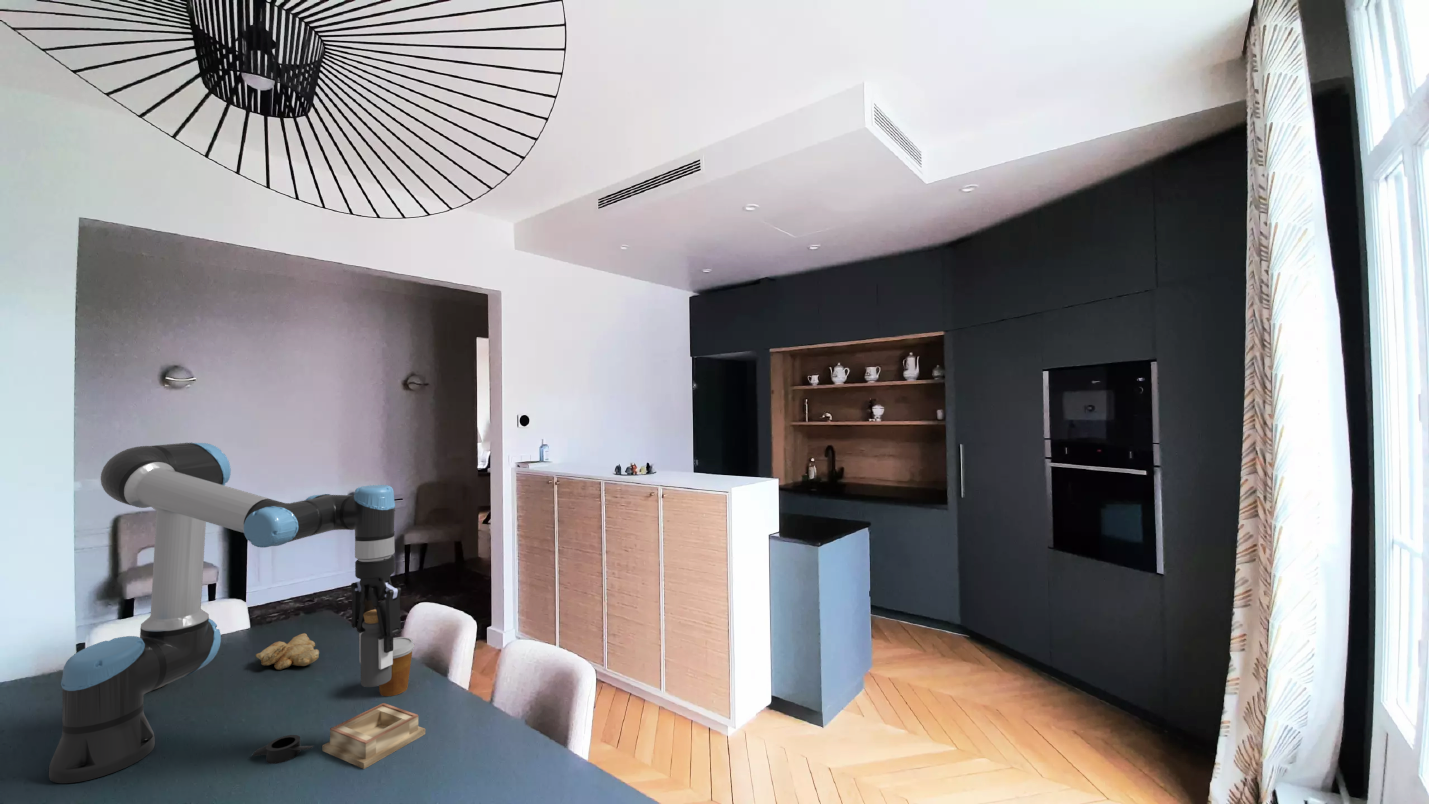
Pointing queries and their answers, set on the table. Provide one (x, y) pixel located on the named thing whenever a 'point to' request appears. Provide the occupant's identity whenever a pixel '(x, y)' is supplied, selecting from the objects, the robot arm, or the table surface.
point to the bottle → (372, 653)
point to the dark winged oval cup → (281, 749)
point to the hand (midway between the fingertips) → (376, 663)
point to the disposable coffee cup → (399, 667)
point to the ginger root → (290, 653)
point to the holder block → (373, 735)
